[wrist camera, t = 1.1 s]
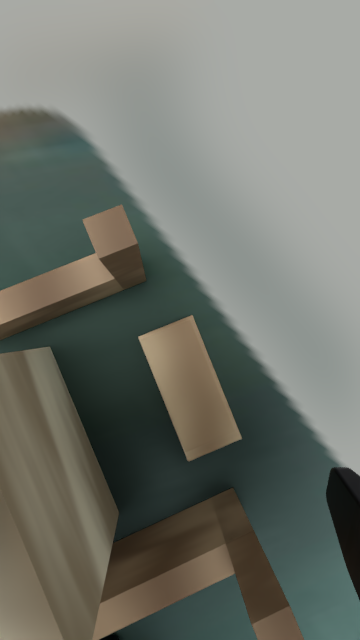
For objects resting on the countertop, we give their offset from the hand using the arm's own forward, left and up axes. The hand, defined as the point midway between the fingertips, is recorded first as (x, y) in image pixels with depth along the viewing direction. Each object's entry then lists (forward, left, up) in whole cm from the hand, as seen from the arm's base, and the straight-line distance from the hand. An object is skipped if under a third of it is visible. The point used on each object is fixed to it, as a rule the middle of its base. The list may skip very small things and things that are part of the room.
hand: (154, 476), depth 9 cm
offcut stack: (+2, 0, -13) cm, 13 cm away
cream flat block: (-6, 0, -12) cm, 14 cm away
